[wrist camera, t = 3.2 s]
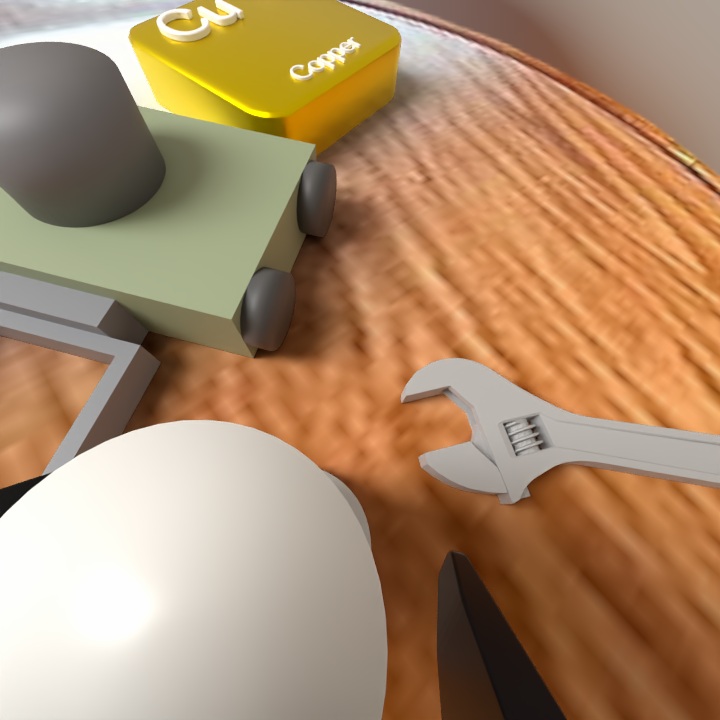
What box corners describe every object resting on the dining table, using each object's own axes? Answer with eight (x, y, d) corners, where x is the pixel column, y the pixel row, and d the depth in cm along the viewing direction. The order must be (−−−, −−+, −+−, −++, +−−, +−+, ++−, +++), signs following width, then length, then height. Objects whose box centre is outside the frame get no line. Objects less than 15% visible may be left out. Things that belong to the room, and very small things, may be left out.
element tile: (282, 187, 24) (269, 115, 20) (145, 100, 27) (108, 21, 23) (403, 96, 29) (414, 23, 25) (276, 32, 33) (266, -42, 28)
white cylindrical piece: (266, 680, 13) (-189, 1708, 2) (193, 527, 15) (-240, 572, 4) (399, 564, 14) (575, 727, 4) (317, 441, 16) (270, 301, 6)
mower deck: (160, 653, 13) (-76, 840, 6) (-340, 496, 14) (-1064, 480, 7) (336, 206, 23) (334, 64, 16) (34, 138, 24) (-99, -24, 17)
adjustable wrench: (873, 465, 18) (927, 461, 16) (930, 610, 15) (1000, 621, 14) (411, 360, 19) (418, 346, 17) (390, 478, 16) (395, 475, 15)
